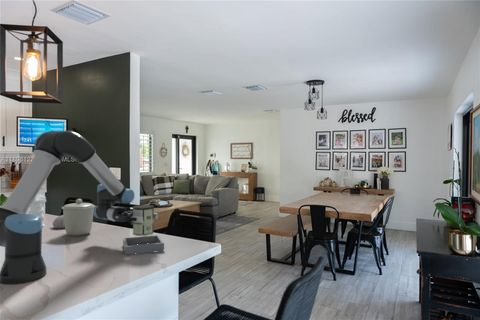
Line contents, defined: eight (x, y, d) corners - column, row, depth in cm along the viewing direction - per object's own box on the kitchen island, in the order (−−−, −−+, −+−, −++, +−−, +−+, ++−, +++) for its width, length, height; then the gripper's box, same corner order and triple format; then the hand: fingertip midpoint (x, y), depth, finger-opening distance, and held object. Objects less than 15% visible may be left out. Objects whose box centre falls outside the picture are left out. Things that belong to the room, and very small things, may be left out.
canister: (101, 232, 198) (102, 198, 198) (75, 238, 182) (76, 201, 182) (81, 229, 206) (81, 196, 206) (54, 235, 190) (54, 199, 190)
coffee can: (140, 230, 171) (140, 204, 171) (157, 232, 168) (157, 205, 168) (128, 235, 161) (128, 207, 161) (146, 236, 158) (146, 208, 158)
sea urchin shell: (74, 228, 209) (74, 216, 209) (50, 229, 204) (50, 217, 204) (76, 224, 222) (76, 212, 222) (54, 225, 217) (54, 213, 217)
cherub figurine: (40, 224, 219) (41, 192, 220) (53, 226, 215) (54, 193, 215) (22, 228, 208) (23, 193, 208) (36, 229, 203) (37, 194, 204)
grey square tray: (164, 251, 160) (164, 243, 160) (125, 255, 153) (125, 246, 153) (158, 242, 176) (158, 235, 176) (123, 245, 169) (123, 237, 169)
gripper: (133, 217, 183) (164, 221, 173) (100, 225, 163) (133, 229, 153) (133, 204, 183) (164, 207, 173) (100, 210, 162) (133, 214, 153)
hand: (149, 218), depth 163 cm, fingers closed on coffee can, 10 cm apart
